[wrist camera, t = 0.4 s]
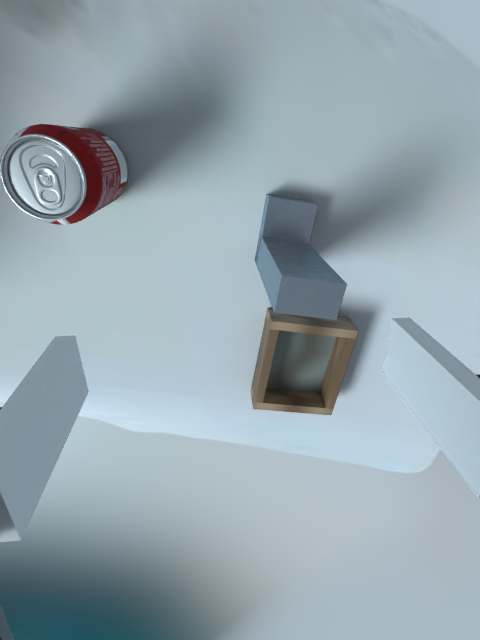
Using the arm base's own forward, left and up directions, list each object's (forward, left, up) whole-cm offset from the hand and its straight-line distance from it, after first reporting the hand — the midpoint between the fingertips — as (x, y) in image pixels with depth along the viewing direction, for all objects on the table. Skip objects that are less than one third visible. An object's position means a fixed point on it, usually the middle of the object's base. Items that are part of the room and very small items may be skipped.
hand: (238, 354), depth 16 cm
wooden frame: (+11, -15, -26) cm, 32 cm away
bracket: (+6, 0, -26) cm, 27 cm away
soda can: (-13, +4, -26) cm, 30 cm away
